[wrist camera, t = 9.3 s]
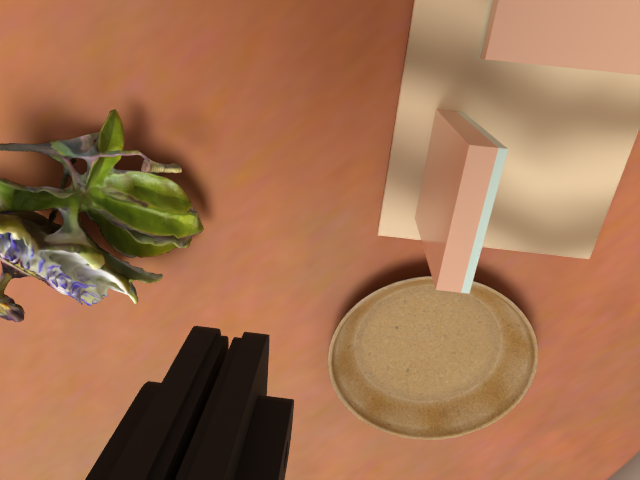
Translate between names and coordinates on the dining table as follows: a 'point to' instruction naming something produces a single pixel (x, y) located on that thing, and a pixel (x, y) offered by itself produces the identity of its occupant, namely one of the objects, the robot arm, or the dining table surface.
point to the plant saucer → (432, 359)
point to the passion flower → (101, 207)
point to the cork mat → (512, 133)
